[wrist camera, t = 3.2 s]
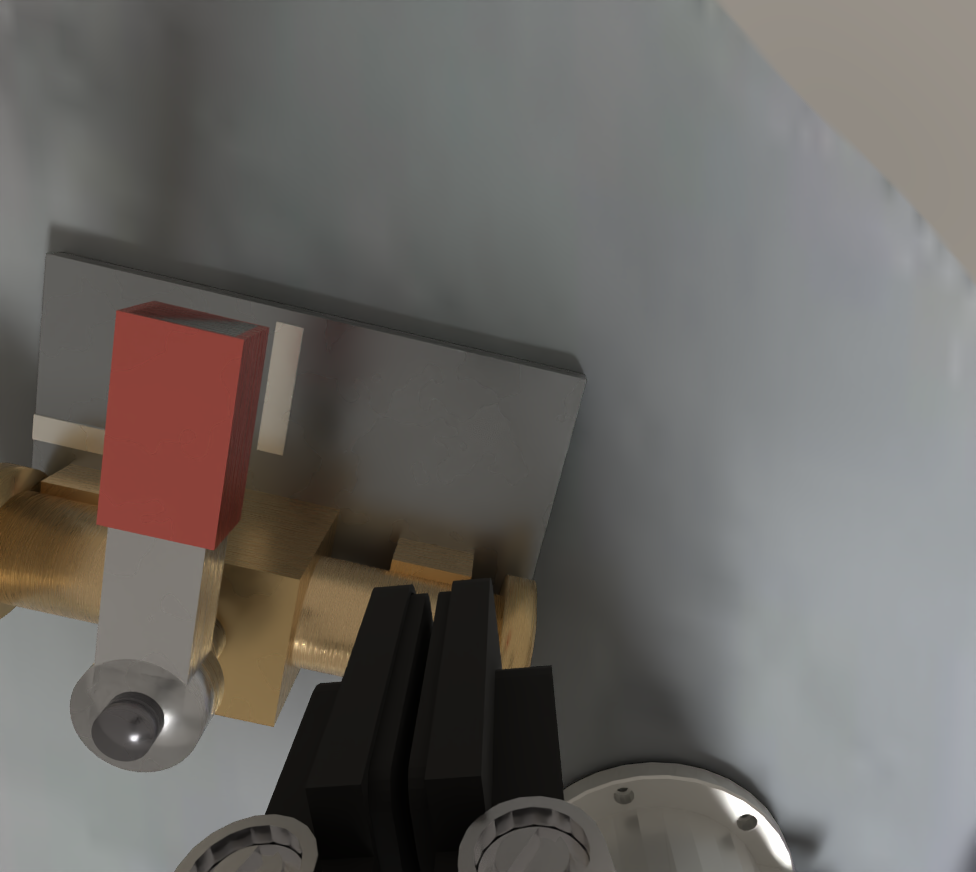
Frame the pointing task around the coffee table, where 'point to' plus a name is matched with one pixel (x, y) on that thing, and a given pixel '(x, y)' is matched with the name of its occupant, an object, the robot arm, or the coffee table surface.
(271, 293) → the coffee table surface
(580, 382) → the valve
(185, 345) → the lever
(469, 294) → the coffee table surface
